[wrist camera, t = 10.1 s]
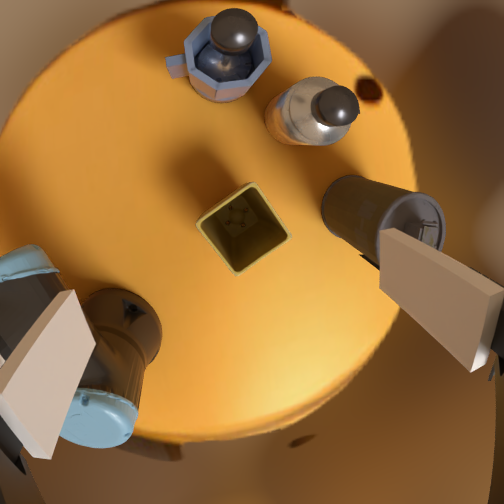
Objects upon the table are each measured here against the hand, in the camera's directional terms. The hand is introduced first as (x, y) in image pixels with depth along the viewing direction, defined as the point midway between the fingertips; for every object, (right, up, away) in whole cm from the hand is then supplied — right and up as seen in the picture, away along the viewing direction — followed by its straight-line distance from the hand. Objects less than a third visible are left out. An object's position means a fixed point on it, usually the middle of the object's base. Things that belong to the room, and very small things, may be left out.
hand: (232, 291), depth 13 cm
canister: (+16, +8, +37) cm, 41 cm away
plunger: (-3, +25, +22) cm, 34 cm away
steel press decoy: (+6, +21, +31) cm, 38 cm away
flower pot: (-1, +7, +35) cm, 35 cm away
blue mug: (-5, +26, +27) cm, 38 cm away
